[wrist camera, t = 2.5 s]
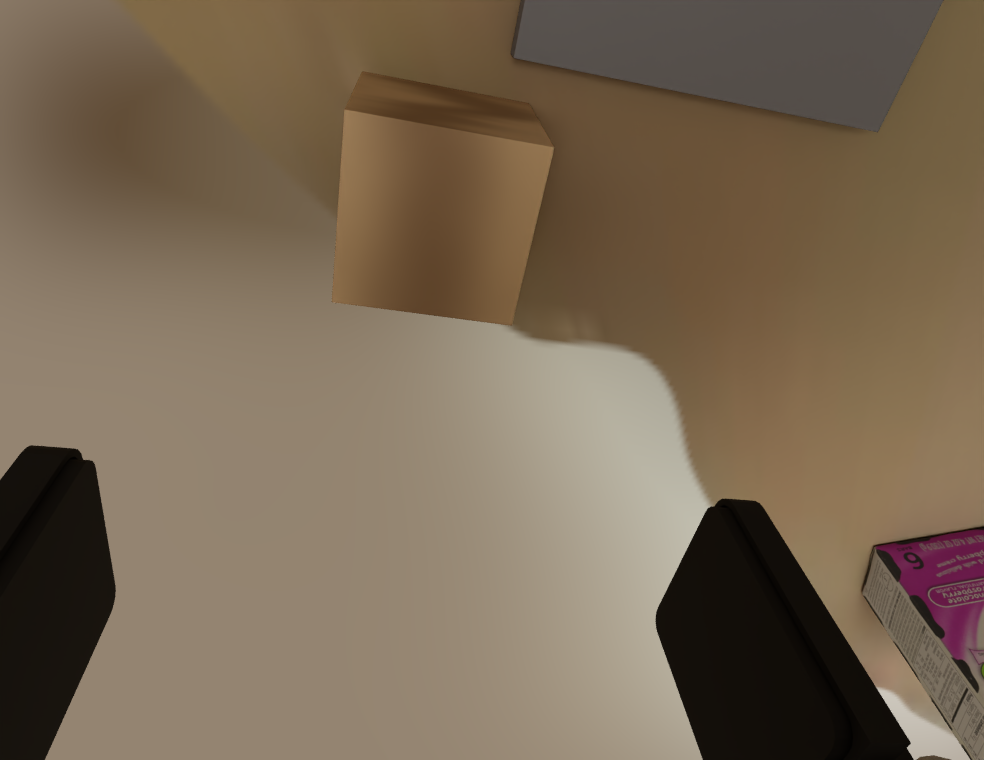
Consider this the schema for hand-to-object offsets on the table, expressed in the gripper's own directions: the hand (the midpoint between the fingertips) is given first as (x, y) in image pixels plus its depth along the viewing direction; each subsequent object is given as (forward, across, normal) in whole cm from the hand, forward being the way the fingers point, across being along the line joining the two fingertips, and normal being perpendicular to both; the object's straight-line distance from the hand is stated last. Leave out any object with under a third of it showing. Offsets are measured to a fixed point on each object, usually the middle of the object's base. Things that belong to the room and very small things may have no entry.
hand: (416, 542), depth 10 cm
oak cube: (+18, -1, -1) cm, 18 cm away
